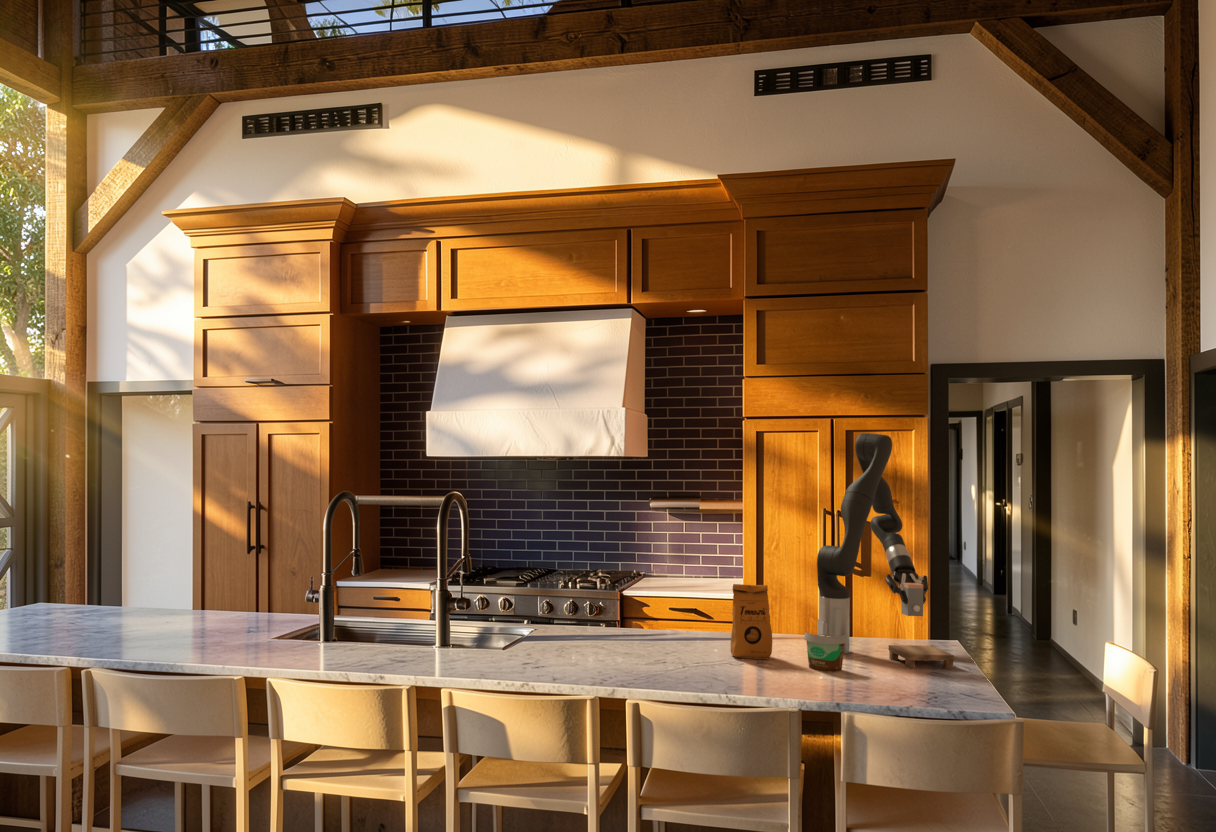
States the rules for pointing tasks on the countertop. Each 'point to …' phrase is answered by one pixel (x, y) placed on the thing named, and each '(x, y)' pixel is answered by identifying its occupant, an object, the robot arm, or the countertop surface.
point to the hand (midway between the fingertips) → (914, 602)
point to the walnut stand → (920, 654)
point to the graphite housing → (913, 599)
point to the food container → (825, 652)
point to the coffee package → (751, 622)
